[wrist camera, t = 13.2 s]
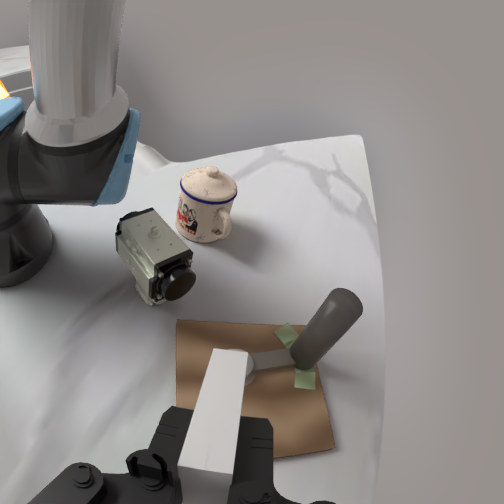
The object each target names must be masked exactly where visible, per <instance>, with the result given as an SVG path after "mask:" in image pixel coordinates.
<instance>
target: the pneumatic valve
mask: <svg viewBox="0 0 504 504" xmlns="http://www.w3.org/2000/svg"><path fill="white" fill-rule="evenodd" d="M119 220H120V221H119V223H118V225H117V229H116V231H117V232H116V233H115V236H116V251H117V252H118V254H119V255H120V257H121V258H122V259H123V261H124V262H125V264H126V265H127V267H128V268H129V269H130V271H131V272H132V274H133V275H134V276H135V278H136V285H135V289H136V290H137V291H138V293H139V294H140V295H141V297H142V298H143V300H144V301H145V302H146V304H147V305H150V306H152V305H153V302H155V303H156V304H161V303H163V302H165V301H166V300H168V301H173V300H176V299H179V298H180V297H182V296H183V295H185V294H186V293H187V292H188V291H189V290H190V289H191V288H192V286H193V285H194V283H195V280H196V275H195V273H194V272H193V271H192V270H191V269H190V267H191V264H192V262H193V261H192V256H193V252H192V251H191V250H190V249H189V247H188V246H187V245H186V244H185V243H184V242H183V241H182V240H181V239H180V238H179V237H178V235H177V234H176V233H175V232H174V231H173V230H172V229H171V228H170V227H169V226H168V224H167V223H166V222H165V221H164V220H163V219H162V218H161V217H160V215H159V214H158V213H157V212H156V211H155V210H154V209H153V208H149V209H146V210H143V211H140V212H137V211H135V212H131V213H128V214H127V215H125V216H124V217H123V218H120V219H119Z"/></svg>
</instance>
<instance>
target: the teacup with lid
mask: <svg viewBox="0 0 504 504" xmlns="http://www.w3.org/2000/svg"><path fill="white" fill-rule="evenodd" d="M180 186H181V191H180V197H179V203H178V210H177V217H176V227H177V229H178V231H179V232H180V233H181V234H182V235H183V236H184V237H186V238H187V239H189V240H192V241H195V242H201V243H208V242H213V241H215V240H217V239H223V238H226V237H228V236H229V234H230V232H231V229H232V222H231V218H230V216H229V214H230V211H231V207H232V204H233V200H234V198H235V197H236V195H237V186H236V183H235V182H234V180H233V179H232V178H231V177H230V176H228V175H227V174H225V173H223V172H221V171H219V170H218V168H216V167H214V166H209V167H208V168H197V169H193V170H190V171H188V172H187V173H186V174H185V175H184V176H183V177H182V179H181V181H180Z"/></svg>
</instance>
